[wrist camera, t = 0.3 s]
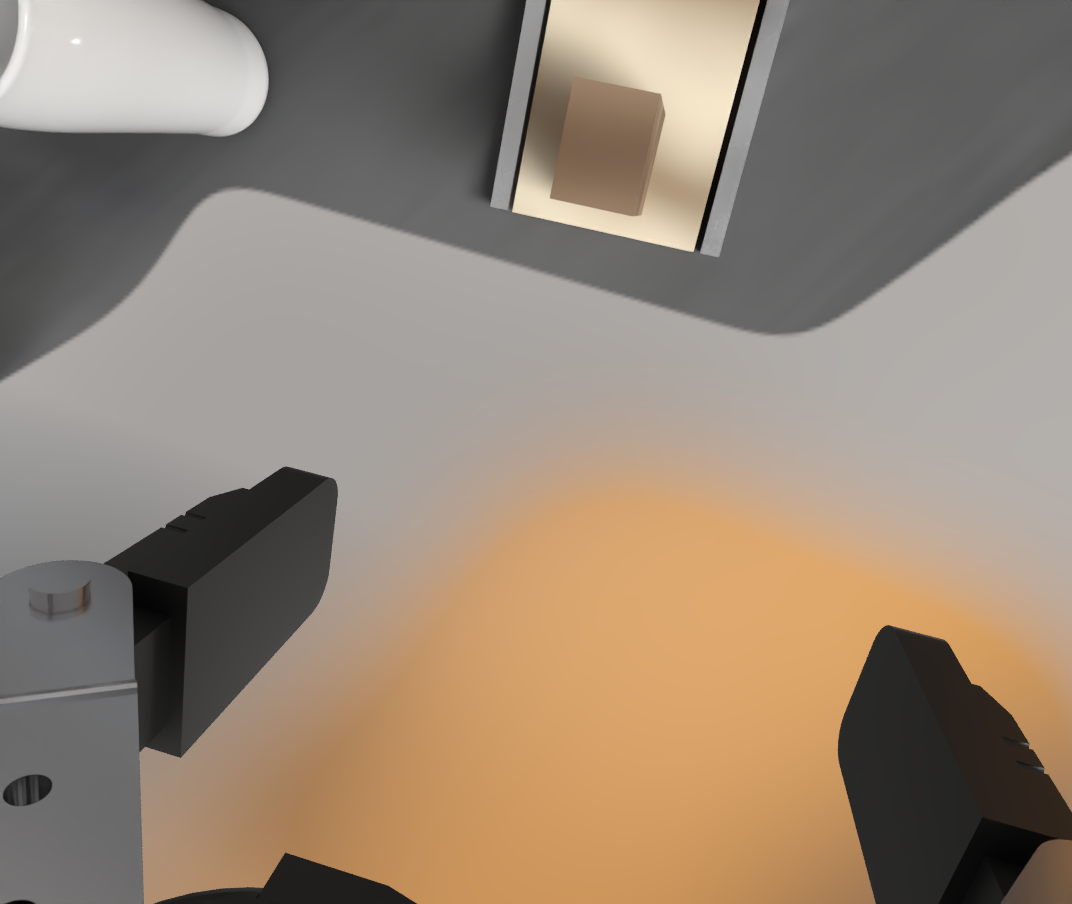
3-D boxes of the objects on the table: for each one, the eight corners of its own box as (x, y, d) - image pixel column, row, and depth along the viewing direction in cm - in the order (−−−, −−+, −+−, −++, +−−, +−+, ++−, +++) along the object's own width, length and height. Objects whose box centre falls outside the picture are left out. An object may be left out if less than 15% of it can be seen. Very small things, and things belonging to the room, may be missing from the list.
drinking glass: (303, 143, 36) (58, 100, 22) (175, 164, 38) (-131, 136, 24) (271, -20, 34) (-18, -180, 20) (138, 8, 36) (-219, -122, 22)
